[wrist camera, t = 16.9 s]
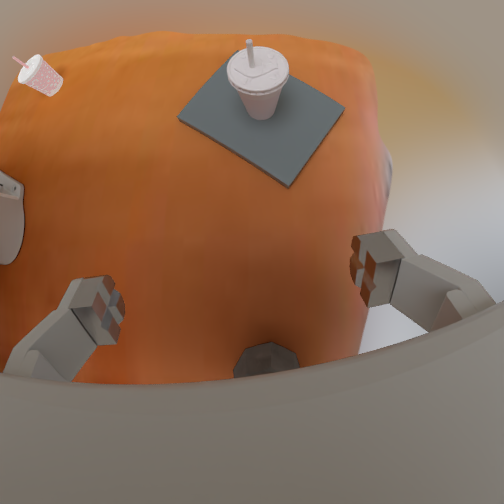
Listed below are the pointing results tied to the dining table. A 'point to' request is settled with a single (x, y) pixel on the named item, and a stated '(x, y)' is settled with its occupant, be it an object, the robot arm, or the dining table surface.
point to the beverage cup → (39, 75)
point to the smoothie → (258, 78)
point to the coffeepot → (265, 360)
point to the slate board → (264, 124)
